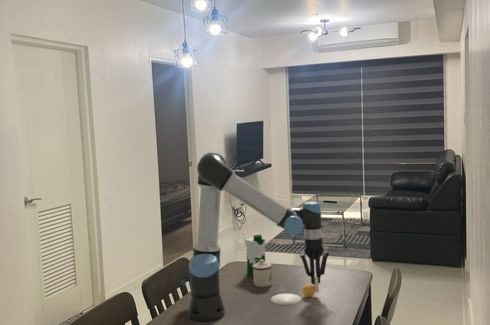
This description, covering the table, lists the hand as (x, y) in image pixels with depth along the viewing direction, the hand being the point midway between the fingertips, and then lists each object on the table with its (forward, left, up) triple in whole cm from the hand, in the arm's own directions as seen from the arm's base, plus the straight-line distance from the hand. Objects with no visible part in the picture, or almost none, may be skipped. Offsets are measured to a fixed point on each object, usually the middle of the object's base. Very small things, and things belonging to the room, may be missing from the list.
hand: (316, 290), depth 219 cm
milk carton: (-19, +38, -3) cm, 42 cm away
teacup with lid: (-19, +24, -3) cm, 31 cm away
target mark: (-14, 0, -2) cm, 14 cm away
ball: (-3, 0, 0) cm, 3 cm away
